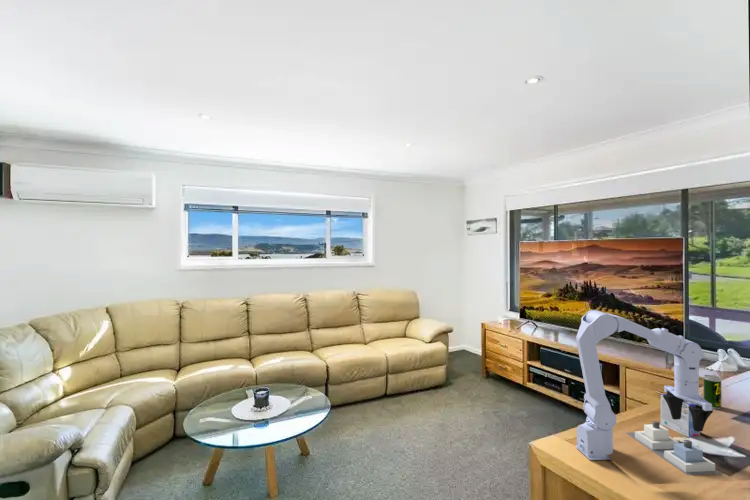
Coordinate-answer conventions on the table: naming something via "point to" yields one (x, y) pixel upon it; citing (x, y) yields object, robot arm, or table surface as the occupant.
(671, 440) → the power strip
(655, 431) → the cream plug
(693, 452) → the blue plug
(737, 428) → the table surface
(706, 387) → the beer can
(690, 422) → the ink cartridge box
